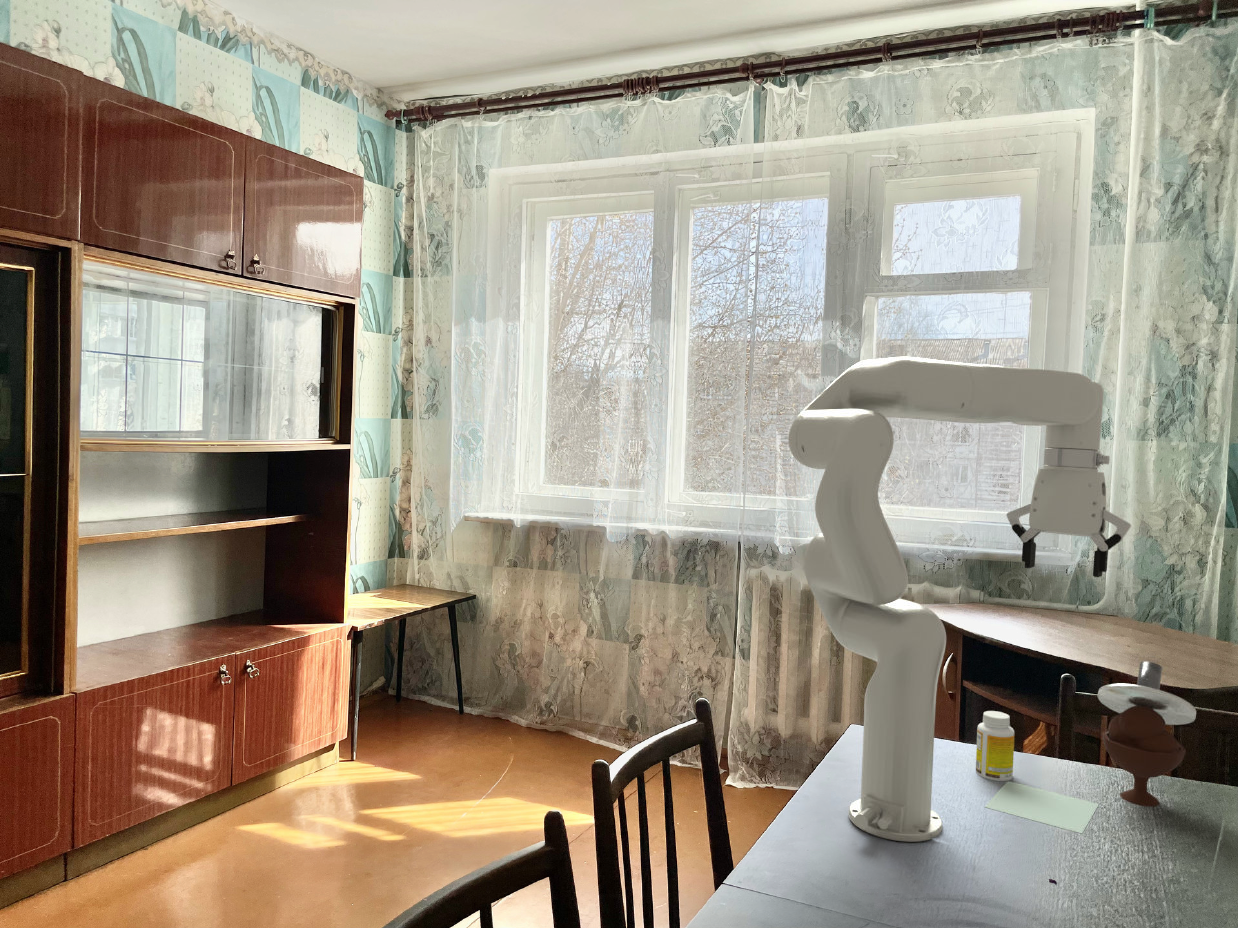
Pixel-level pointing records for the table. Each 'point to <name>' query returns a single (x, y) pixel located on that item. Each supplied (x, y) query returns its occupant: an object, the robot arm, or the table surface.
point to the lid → (1148, 696)
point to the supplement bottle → (995, 747)
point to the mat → (1043, 806)
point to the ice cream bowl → (1142, 750)
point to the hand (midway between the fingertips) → (1062, 571)
